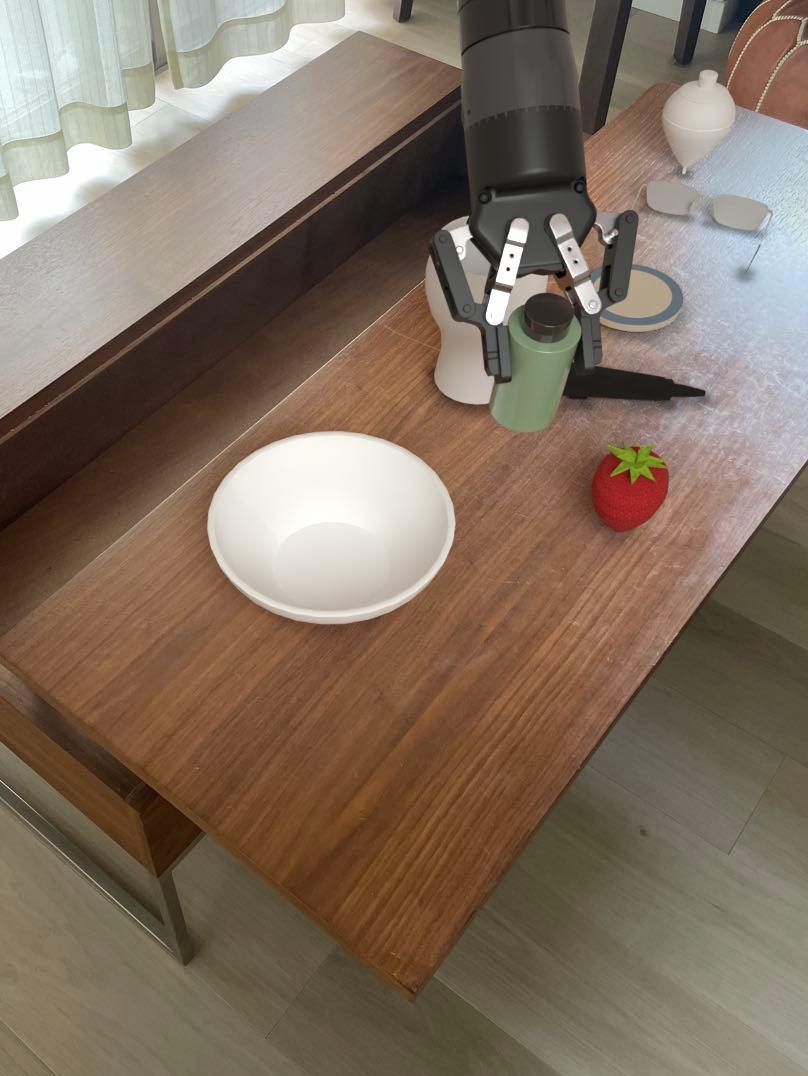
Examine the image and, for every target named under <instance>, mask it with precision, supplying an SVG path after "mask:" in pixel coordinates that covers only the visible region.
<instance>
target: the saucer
mask: <svg viewBox="0 0 808 1076" xmlns="http://www.w3.org/2000/svg"><path fill="white" fill-rule="evenodd" d="M601 272H602V267H600V268H598V269H595V270H593V271H592V272H590V274H591V275H590V278H591V281H592V283H593V285H594V287H595V289H596V291H597V292H598V291H599V285H600V279H601ZM683 304H684V294H683V290H682V288H681V287H680V285H679V284H678V283H677V282H676V280H674V279H673V278H672V277H671V276H669V275H668V274H666V273H664V272H663V271H660V270H658V269H655V268H653V267H649V266H645V265H641V264H634V263H632V268H631V275H630V281H629V288H628V294H627V297H626V298H625V299H624V300H623V301H621V302H618V303H616V304H613V305H611V306H609V307H607V308H606V309H604V310H603V311H602V313H601V315H600V325H603V326H605V327H608V328H611V329H614V330H617V331H623V332H630V333H643V332H644V333H645V332H651V331H655V330H659V329H663V328H665V327H667V326H668V325H670V324H672V322H674V321H675V320H676V319H677V318H678V317H679V315H680V313H681V311H682V308H683Z"/></svg>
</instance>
